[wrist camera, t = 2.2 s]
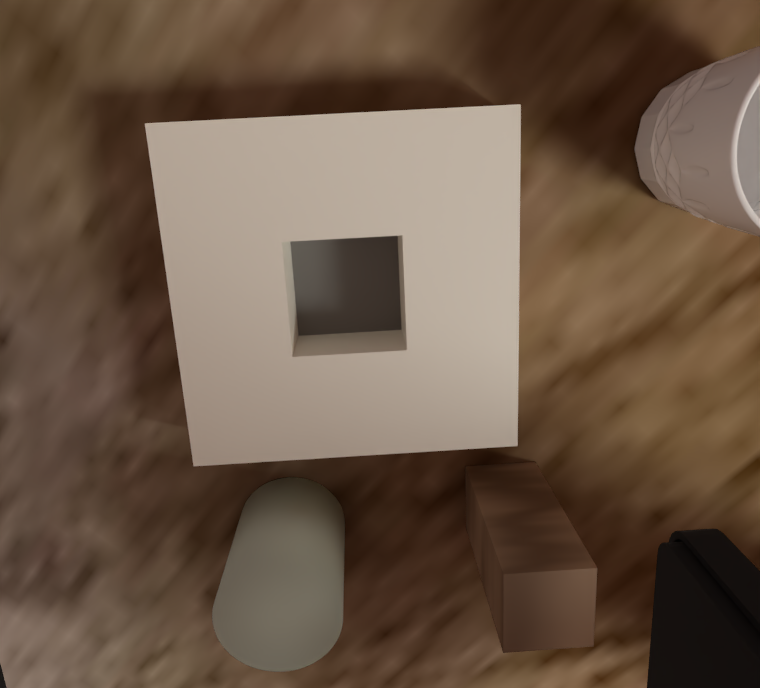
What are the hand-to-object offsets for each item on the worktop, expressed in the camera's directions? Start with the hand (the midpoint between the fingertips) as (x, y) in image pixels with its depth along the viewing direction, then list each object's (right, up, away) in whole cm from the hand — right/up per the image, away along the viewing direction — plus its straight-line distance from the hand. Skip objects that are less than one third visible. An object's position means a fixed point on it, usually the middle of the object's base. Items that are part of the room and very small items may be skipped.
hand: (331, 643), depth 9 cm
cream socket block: (-1, +7, +25) cm, 26 cm away
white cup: (+17, +14, +24) cm, 33 cm away
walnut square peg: (+8, -5, +29) cm, 30 cm away
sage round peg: (-4, -6, +29) cm, 30 cm away
